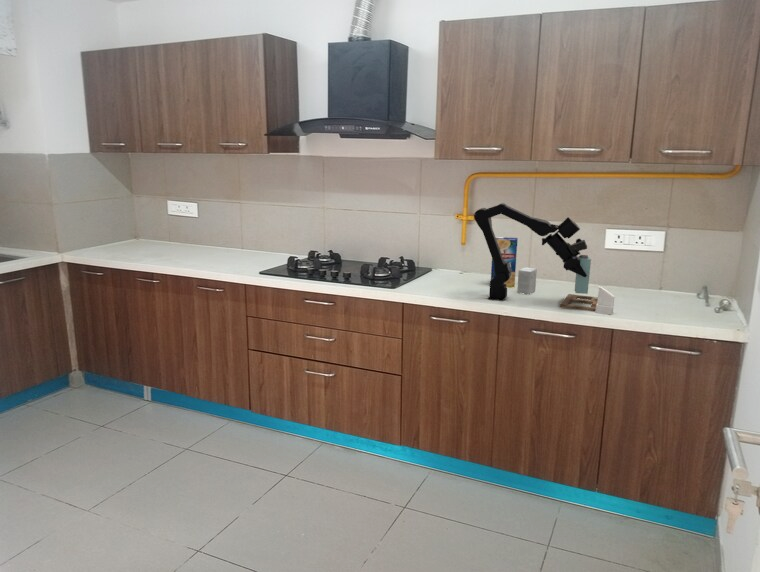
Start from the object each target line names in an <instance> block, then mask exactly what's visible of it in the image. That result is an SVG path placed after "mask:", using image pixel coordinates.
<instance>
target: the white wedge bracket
mask: <svg viewBox="0 0 760 572" xmlns="http://www.w3.org/2000/svg"><path fill="white" fill-rule="evenodd" d="M597 293H598V294H597V297H598V301H597V305H596V311H594V312H595V313H596V314H600V315H601V314H602V315H607V314H608V315H609V316H611V315H613V313H614V306H615V297H616V296H615V295H614V294H612V293H611V292H610V291H608V290H607V289H605V288H604V287H602V286H601V285H600V286H598V292H597Z"/></svg>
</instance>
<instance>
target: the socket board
mask: <svg viewBox="0 0 760 572" xmlns="http://www.w3.org/2000/svg"><path fill="white" fill-rule="evenodd" d="M577 298H580V299H577ZM587 299H588V300H587ZM597 301H598V296H591V295H590V296H588V295H583V294H582V295H580V294H573V293H568V294H567V295H566V297H564V299H563V300H562V301H561V302H560V303H559V308H565V309H571V310H572V309H573V310H578V311H579V310H580V311H589V312H595V311H596V305H597ZM571 303H575V304H571ZM583 303H584V306H583V305H576V304H583ZM585 304H586V305H590V306H585ZM591 304H592V305H591Z"/></svg>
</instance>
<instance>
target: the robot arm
mask: <svg viewBox="0 0 760 572" xmlns="http://www.w3.org/2000/svg"><path fill="white" fill-rule="evenodd" d="M498 215H503V216H505V217H507V218H509V219H511V220H514V221H515V222H517V223H520V224H522V225H524V226H526V227H528V228H529V229H530V230H531V231H532V232H533V233H535V234H536V235H538V236H540V237H542V238H541V246H545V245H546V244H547V245H548V246H549V247H550V248H551V249H552V250H553V252H555V254H556V256H558V257H559V258H560V259H561V260H562V262H563V267H562V268H563V269H565V271H566V272H567V271H570V272H573V273H574V274H576V273H577V274H579V275H581V276H583V277H586V276H587V274H586V273H585V271H584V270H583V268H582V266H581V265H580V260H581V259H579V258H578V257H581V255H582V254H581V252H580V251H583V250H584V251H585V250H587V249H588V245H587V243H586V240H585V239H582V238H576V239H575V242H574V243H572V244H570V242H566V240H565V239H570V238H572V237H574V235H576V233H578V232H579V231H580V230H581V228H580V226H578V224H577V223H576V222H575V221H573V219H571V218H570V217H569V216H568V217H566V218H565V219H564V220H563V221H562V222H561V223H560V224H554V223H553V224H552V223H550V222H549V221H548V220H545V219H541V218H537V217H533V216H530V215H528V214H526V213H524V212H522V211H519V210H517V209H515V208H513V207H511V206H509V205H507V204H506V203H505V202H504V203H503V202H501V203H499V204H497V205H494V206H491V207H488V208H486V207H481V208H479V209H477V210H476V211H475V212H474V214H473V219H474V220H475V223H476V224H477V226H478V227H479V229H480V230H481V231H482V234H483V237H484V240H485V242H486V245H487V248H488V250H489V253H490V256H491V260H492V259H493V262H494V271H495V276H494V277H493V278H492V279H491V278H490V280H489V283H490V284H489V293H488V294H489V296H488V297H487V299H488V300H494V301H502V302H503V301H504V300H506V299H507V298H508V287H506V284H504V283H505V282H507V281H508V280H509V278H510V276H511V271H512V269H511V267H510V263H509V261H508V262H505V261H504V259H503V257H502V254H501V251H500V249H499V246H498V243H497V240H496V237H497V236H496V235H495V233H494V229H493V224H492V223H493V222H492V221H493V220H492V218H493V217H496V216H498ZM552 233H554V234H552ZM578 255H579V256H578ZM505 298H506V299H505Z"/></svg>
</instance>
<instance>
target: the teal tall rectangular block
mask: <svg viewBox="0 0 760 572" xmlns="http://www.w3.org/2000/svg"><path fill="white" fill-rule="evenodd" d="M580 255H581V257H579V256H577V257H578V258H579V259H581V260H580V265H581V266H582V268H583V270H584V271H585V273H586V274H587V276H586V277H583V276H581V275H579V274H577V273H575V280H574V281H575V282H574V292H575V294H582V295H583V294H586V295H588V293H589V284H590V274H591V273H590V271H591V264H592V263H591V262H592V259H591V257H590V256H588V254H580Z"/></svg>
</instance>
